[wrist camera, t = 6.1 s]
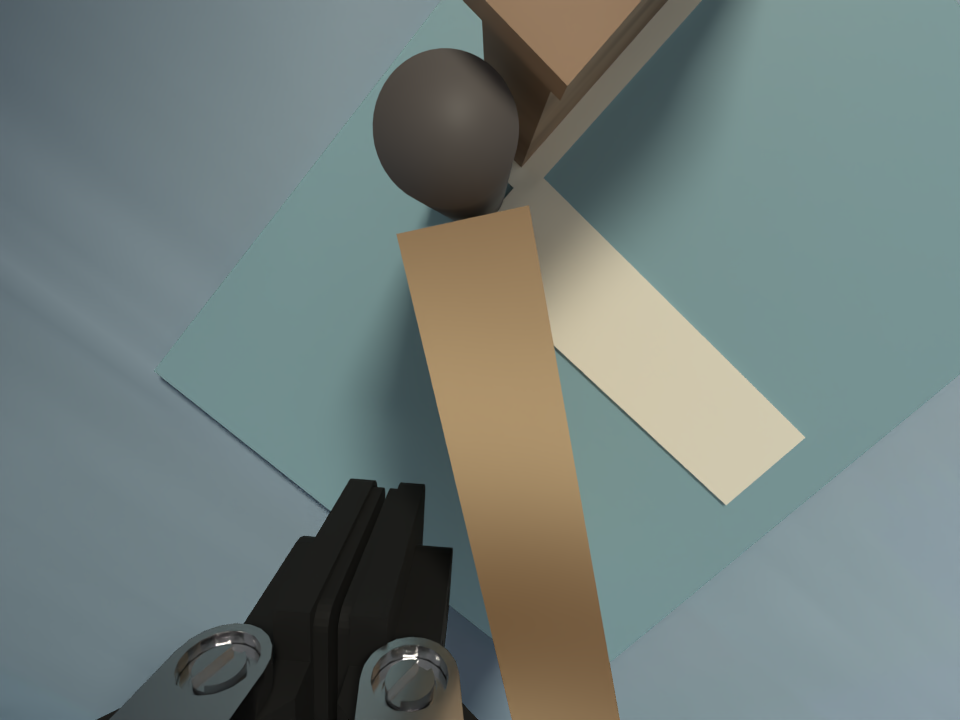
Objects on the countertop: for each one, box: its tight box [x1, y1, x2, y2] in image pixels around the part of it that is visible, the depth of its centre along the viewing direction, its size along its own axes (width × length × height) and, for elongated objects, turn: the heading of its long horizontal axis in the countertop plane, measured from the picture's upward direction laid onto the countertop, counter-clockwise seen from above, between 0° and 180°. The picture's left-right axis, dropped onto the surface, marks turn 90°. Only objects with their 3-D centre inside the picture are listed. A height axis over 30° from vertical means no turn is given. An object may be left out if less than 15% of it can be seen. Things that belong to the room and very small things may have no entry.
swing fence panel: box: [396, 205, 620, 720], centre depth 10 cm, size 10×2×7 cm, turn 12°
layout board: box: [154, 0, 960, 662], centre depth 14 cm, size 21×17×1 cm
